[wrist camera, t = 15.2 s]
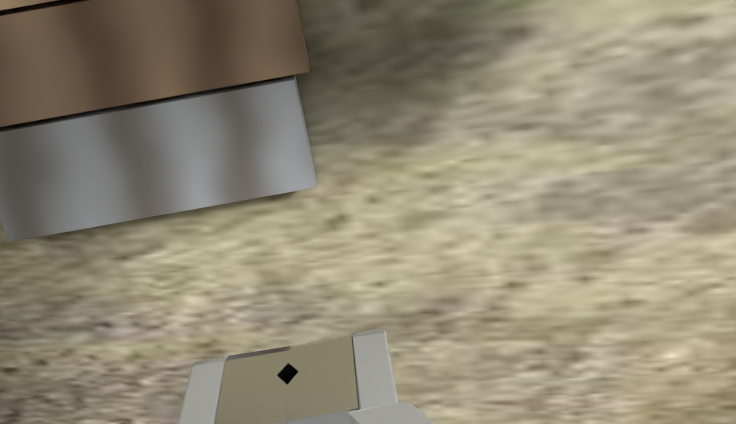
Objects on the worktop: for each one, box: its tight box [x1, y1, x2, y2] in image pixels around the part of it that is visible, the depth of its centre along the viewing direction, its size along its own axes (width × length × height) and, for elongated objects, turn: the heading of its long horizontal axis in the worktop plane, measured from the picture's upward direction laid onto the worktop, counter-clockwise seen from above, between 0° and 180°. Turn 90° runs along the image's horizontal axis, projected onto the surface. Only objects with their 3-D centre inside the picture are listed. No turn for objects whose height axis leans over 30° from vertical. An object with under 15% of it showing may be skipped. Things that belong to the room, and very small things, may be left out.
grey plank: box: [0, 75, 317, 242], centre depth 39 cm, size 20×7×2 cm, turn 99°
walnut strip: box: [0, 0, 310, 127], centre depth 36 cm, size 22×6×2 cm, turn 99°
